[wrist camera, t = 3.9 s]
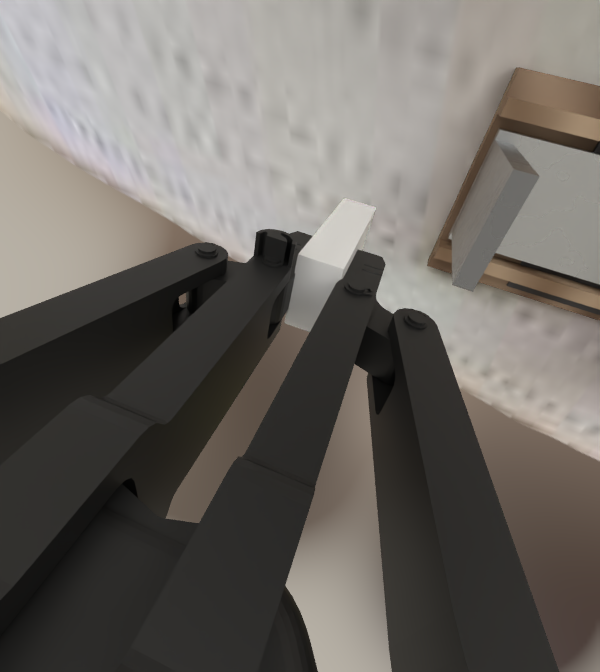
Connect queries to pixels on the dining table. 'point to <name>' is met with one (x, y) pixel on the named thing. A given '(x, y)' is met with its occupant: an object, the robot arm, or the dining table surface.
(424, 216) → the dining table surface
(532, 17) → the dining table surface
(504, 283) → the tunnel board
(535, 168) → the grey u-shaped piece
